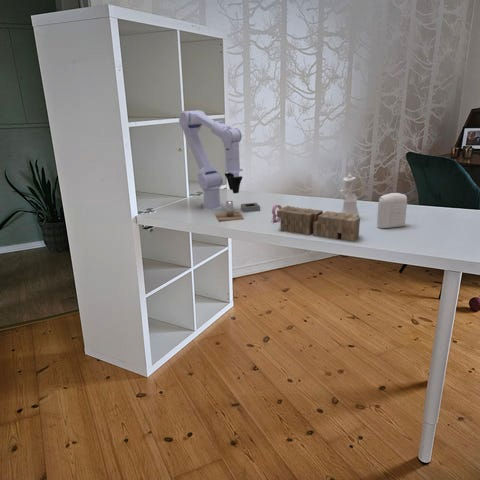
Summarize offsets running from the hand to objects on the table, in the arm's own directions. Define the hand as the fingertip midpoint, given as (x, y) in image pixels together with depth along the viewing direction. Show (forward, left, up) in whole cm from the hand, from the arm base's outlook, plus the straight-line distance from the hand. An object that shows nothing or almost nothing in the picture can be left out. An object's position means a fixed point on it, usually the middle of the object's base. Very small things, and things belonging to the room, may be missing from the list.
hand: (234, 191), depth 183 cm
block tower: (+38, +22, -10) cm, 46 cm away
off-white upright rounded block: (+40, +50, -10) cm, 65 cm away
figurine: (+25, +41, -10) cm, 49 cm away
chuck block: (-1, +7, -9) cm, 12 cm away
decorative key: (+14, +19, -10) cm, 26 cm away
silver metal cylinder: (+8, -4, -8) cm, 12 cm away
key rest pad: (+8, -4, -9) cm, 13 cm away
